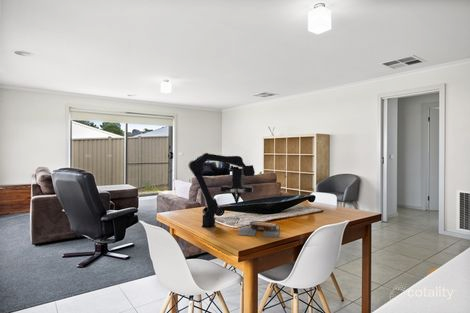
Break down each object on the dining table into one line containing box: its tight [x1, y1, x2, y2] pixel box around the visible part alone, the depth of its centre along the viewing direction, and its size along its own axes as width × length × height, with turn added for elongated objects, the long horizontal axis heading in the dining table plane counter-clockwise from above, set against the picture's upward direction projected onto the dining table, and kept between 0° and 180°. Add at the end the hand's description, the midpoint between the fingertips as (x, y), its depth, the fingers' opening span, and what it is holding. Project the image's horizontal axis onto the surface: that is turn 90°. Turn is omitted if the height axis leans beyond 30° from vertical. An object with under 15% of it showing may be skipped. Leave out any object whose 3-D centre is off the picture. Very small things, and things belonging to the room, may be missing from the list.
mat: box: [237, 225, 280, 238], centre depth 153 cm, size 21×20×1 cm
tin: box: [249, 220, 278, 231], centre depth 156 cm, size 15×3×8 cm
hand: (236, 203), depth 166 cm, fingers closed
